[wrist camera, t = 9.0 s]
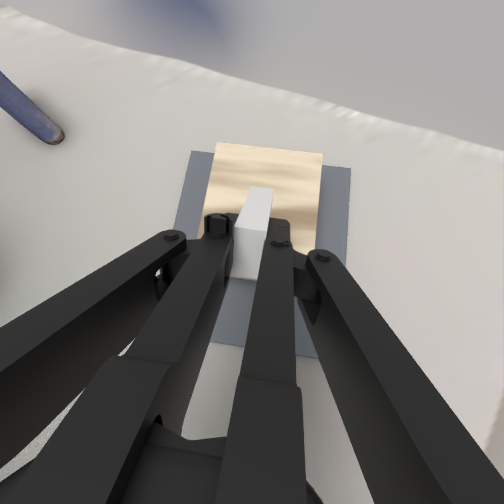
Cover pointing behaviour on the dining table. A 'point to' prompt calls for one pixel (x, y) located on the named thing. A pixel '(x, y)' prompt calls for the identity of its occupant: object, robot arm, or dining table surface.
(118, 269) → the robot arm
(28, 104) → the flask
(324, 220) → the mat
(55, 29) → the dining table surface
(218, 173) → the wooden block
